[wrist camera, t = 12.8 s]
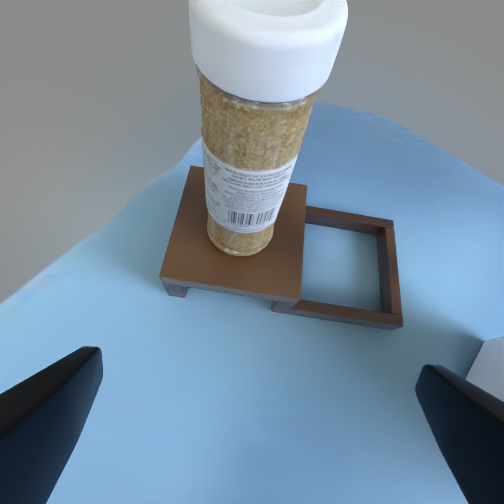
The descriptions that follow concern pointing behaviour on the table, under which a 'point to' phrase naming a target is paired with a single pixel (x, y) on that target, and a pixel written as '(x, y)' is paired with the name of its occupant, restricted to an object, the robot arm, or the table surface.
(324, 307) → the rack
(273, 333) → the table surface
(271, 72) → the sprinkles bottle
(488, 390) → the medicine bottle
